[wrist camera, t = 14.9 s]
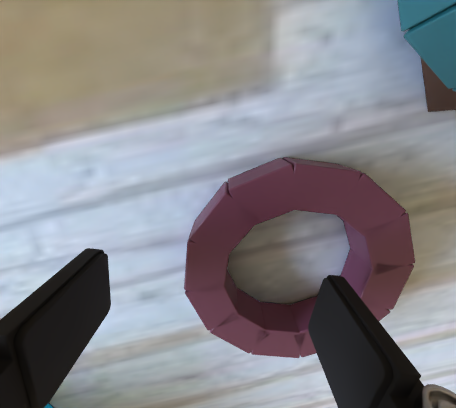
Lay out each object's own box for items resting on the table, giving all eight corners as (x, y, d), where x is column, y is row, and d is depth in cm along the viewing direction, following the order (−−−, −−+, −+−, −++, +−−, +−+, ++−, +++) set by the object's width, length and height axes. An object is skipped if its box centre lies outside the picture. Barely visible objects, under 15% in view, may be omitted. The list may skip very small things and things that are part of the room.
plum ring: (156, 208, 11) (142, 224, 9) (363, 122, 10) (395, 121, 8) (234, 345, 15) (235, 377, 13) (396, 295, 13) (424, 322, 12)
